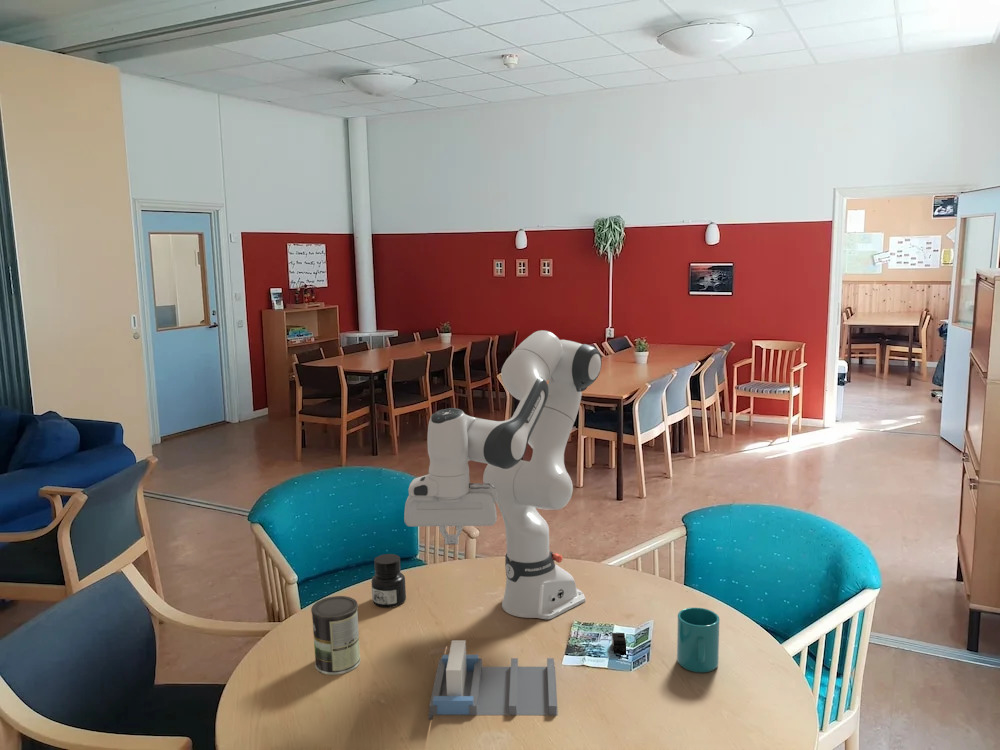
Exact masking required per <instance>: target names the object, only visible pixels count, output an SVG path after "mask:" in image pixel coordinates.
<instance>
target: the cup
mask: <svg viewBox="0 0 1000 750" xmlns="http://www.w3.org/2000/svg"><path fill="white" fill-rule="evenodd" d="M720 620H721V619H720V616H719V615H718V614H717V613H716V612H714V611H713V610H710V609H707V608H703V607H687V608H684V609H681V610H680V611H679V612H678V613H677V632H676V633H677V635H676V636H677V638H676V639H677V640H676V644H677V645H676V660H677V663H678V664H679V665H680V667H681V668H684V669H685V670H687V671H689V672H693V673H700V674H703V673H709V672H712V671H714V670H715V669H716V668H717V667H718V665H719V654H720V653H719V651H720V649H719V648H720V647H719V646H720Z"/></svg>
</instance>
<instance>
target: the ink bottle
mask: <svg viewBox="0 0 1000 750" xmlns="http://www.w3.org/2000/svg"><path fill="white" fill-rule="evenodd" d="M401 568H402V567H401V557H400V556H399V555H398V554H394V553H387V554H380V555H378V556H376V557H375V558H374V575H373V576H372V578H371V599H372V603H373V604H374V605H375V606H377V607H379V608H384V609H385V608H386V609H389V608H394V607H397V606H400V605H402V604H404V603H405V602H406V599H407V595H406V594H407V593H406V591H407V590H406V577H405V575H404V574H403V573H402V572H401V570H402V569H401Z"/></svg>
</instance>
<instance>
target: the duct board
mask: <svg viewBox="0 0 1000 750" xmlns="http://www.w3.org/2000/svg"><path fill="white" fill-rule="evenodd" d="M448 658H449V654H442V657H441V658H440V657H439V660H438V664H437V669H436V672H435V678H434V683H433V688H432V691H431V697H430V701H429V705H428V707H429V711H428V720H433V719H434V716H559V713H558V712H559V711H558V710H559V709H558V696H557V695H558V694H557V693H558V691H557V676H556V674H557V673H556V666H555V658H553V657H549V658H548V657H547V658H546V666H519V659H518V657H515V658H512V657H511V658H510V666H483V658H481V657H480V658H479V654H466V666H467V676H466V683H465V689H464V696H447V682H446V668H447V663H448Z"/></svg>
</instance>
